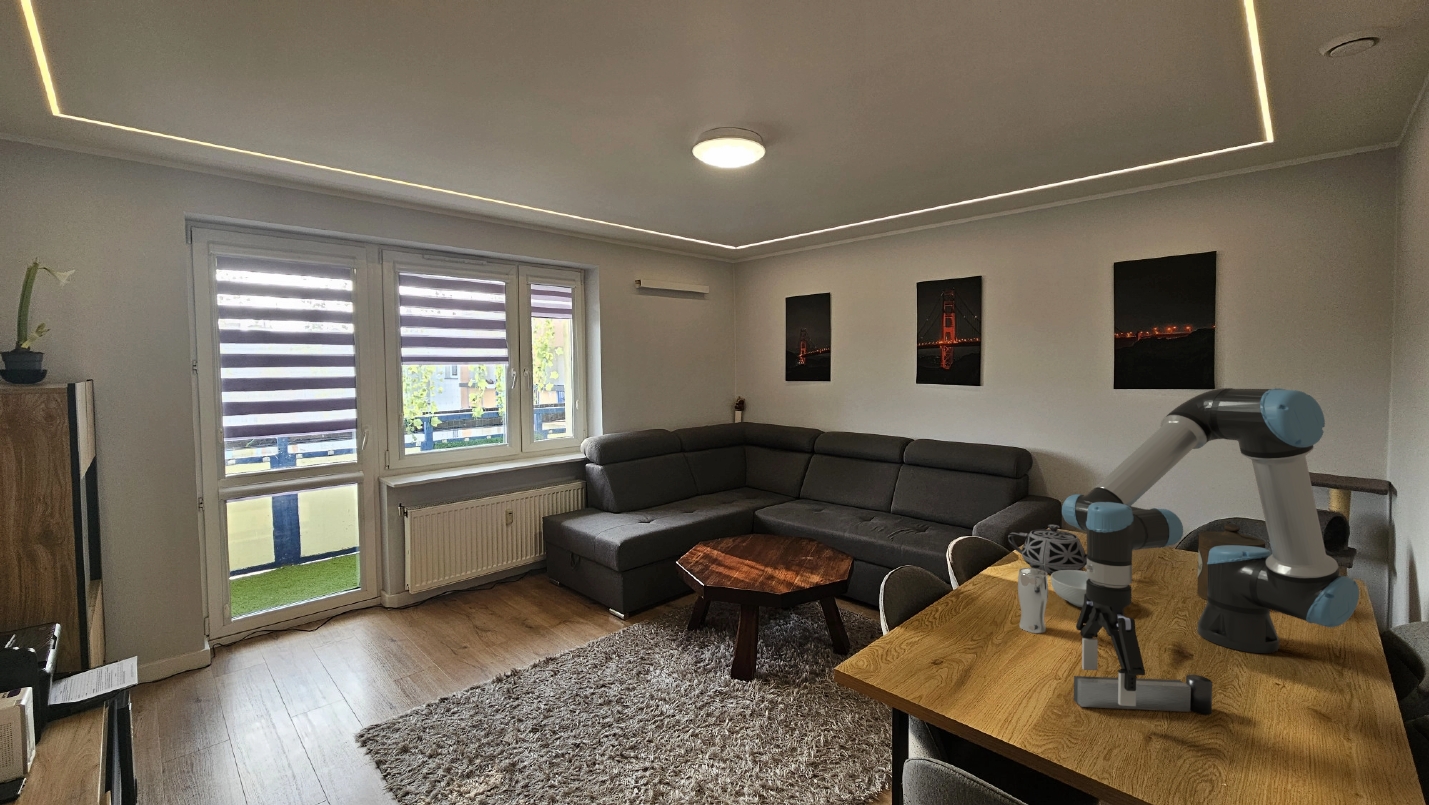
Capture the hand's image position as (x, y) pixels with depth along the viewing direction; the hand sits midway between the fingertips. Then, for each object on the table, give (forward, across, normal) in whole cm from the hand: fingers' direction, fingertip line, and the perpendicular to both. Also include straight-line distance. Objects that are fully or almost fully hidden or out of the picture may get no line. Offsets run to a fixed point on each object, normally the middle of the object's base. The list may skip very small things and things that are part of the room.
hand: (1107, 686), depth 119 cm
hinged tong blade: (+4, +1, +4) cm, 6 cm away
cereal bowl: (+4, -55, +22) cm, 59 cm away
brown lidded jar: (+4, -61, +65) cm, 89 cm away
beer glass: (+4, -36, 0) cm, 37 cm away
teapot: (+4, -85, +28) cm, 89 cm away
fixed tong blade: (+4, 0, +7) cm, 8 cm away
